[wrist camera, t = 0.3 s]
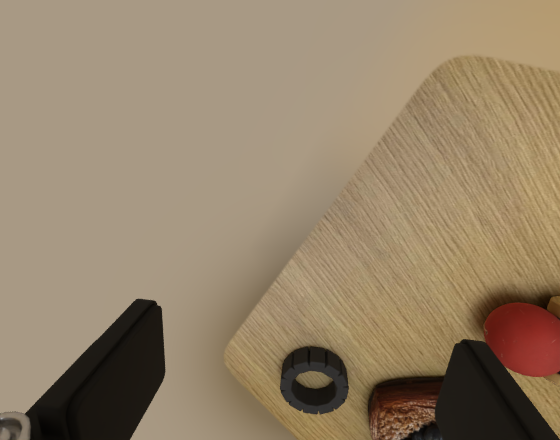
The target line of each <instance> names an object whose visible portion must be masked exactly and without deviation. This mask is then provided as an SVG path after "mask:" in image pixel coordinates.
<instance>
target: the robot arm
mask: <svg viewBox="0 0 560 440" xmlns="http://www.w3.org/2000/svg"><path fill="white" fill-rule="evenodd" d="M164 376H165V356H164V339H163V322H162V308H161V307H160V306H157V303H156V301H153V300H145V299H136V300H135V301H134V302H133V303H132V304H131V305H130V306H129V307H128V308H127V309H126V310H125V311H124V313H123V314H122V315H121V316H120V317H119V318H118V319H117V320H116V321H115V322H114V323H113V324H112V325H111V326H110V327H109V328H108V329H107V330H106V331H105V332H104V333H103V334H102V336H100V338H98V340H96V341H95V342H94V343H93V344H92V345H91V346H90V347H89V348H88V349H87V350H86V351H85V352H84V353H83V354H82V355H81V356H80V357H79V358H78V359H77V360H76V361H75V363H74V364H73V365H72V366H71V367H70V368H69V369H68V370H67V371H66V372H65V373H64V374H63V375H62V376H61V377H60V378H59V379H58V380H57V381H56V382H55V383H54V385H52V386H51V387H50V388H49V389H48V390H47V392H46V393H45V394H44V395H43V396H42V397H41V398H40V399H39V400H38V401H37V402H36V403H35V404H34V405H33V406H32V407H31V408H30V409H29V410H28V411H27V412H26V413H25V414H23V413H20V412H4V413H0V440H130V438H131V437H132V435H133V433H134V431H135V430H136V428H137V426H138V424H139V423H140V421H141V419H142V417H143V415H144V414H145V412H146V410H147V408H148V407H149V405H150V403H151V401H152V399H153V398H154V396H155V394H156V392H157V391H158V389H159V387H160V385H161V383H162V381H163V379H164ZM435 420H436V423H437V425H438V428H439V430H440V433H441V435H442V438H443V440H560V439H559V438H558V437H557V435H556V434H555V433H554V431H553V430H552V429H551V427H550V426H549V425H548V423H547V422H546V421H545V419H544V418H543V417H542V416H541V414H540V413H539V412H538V410H537V409H536V408H535V406H534V405H533V404H532V402H531V401H530V400H529V398H528V397H527V396H526V394H525V393H524V392H523V391H522V389H521V388H520V387H519V385H518V384H517V383H516V381H515V380H514V379H513V377H512V376H511V375H510V373H509V372H508V371H507V369H506V368H505V367H504V366H503V364H502V363H501V362H500V360H499V359H498V358H497V356H496V355H495V354H494V352H493V351H492V350H491V348H490V347H489V346H488V345H487V344H486V343H485V342H483V341H476V340H468V339H463V340H462V341H461V342H460V343H456V344H455V346H454V348H453V352H452V355H451V358H450V361H449V364H448V368H447V371H446V374H445V377H444V380H443V383H442V387H441V390H440V393H439V396H438V399H437V403H436V406H435Z"/></svg>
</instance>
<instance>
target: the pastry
mask: <svg viewBox="0 0 560 440" xmlns="http://www.w3.org/2000/svg"><path fill="white" fill-rule="evenodd" d="M443 380H444V378H413V379H402V380H393V381H388V382H385V383H382V384H379V385H377V386H376V388H375V389H374V391H373V392H372V394H371V396H370V399H369V403H368V413H369V425H370V431H371V437H372V439H373V440H443V438H442V435H441V433H440V430H439V428H438V425H437V423H436V420H435V406H436V403H437V399H438V396H439V393H440V390H441V387H442V383H443Z"/></svg>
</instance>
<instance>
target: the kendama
mask: <svg viewBox="0 0 560 440" xmlns="http://www.w3.org/2000/svg"><path fill="white" fill-rule="evenodd" d="M547 310H548V311H547ZM547 310H545V309H543V308H541V307H539V306H536V305H533V304H528V303H508V304H505V305H502V306H500V307H498V308H496V309H495V310H493V311H492V312H491V313H490V314H489V316H488V317H487V319H486V321H485V322H484V324H483V327H484V337H485V341H486V344H487V345H488V346H489V347H490V348H491V350H492V351H493V352H494V354H495V355H496V356H497V358H498V359H499V360H500V362H501V363H502V364H503V365H504V366H505V367H507V368H509V369H510V370H512V371H514V372H517V373H519V374H522V375H526V376H532V377H544V378H546V379H547V380H549V381H550V382H552V383H554V384H556V385H558V386H560V296H554V297H552V298H551V299H550V302H549V304H548V307H547Z"/></svg>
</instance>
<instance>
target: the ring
mask: <svg viewBox="0 0 560 440" xmlns="http://www.w3.org/2000/svg"><path fill="white" fill-rule="evenodd" d="M307 371H317V372H323V373H324V374H326V375H327V376H329V377H330V378H332V379H333V382H332V383H331V384H330V385H329V386H328V387H324V388H321V389H310V388H306V387H304V386H302V385H301V384H299V383H298V382H297V381H296V379H295V378H296V377H297V376H298V375H299V374H300V373H304V372H307ZM348 389H349V386H348V378H347V371H346V368H345V366H344V364H343V362H342V360H341V359H339V356H337V355H336V354H334V353H332V352H331V351H329V350H326V351H325V349H324V348H318V347H310V351H309V349H308V347H305V348H301V349H298V350H295V351H294V353H293V352H292V353H291V354H290V355H289V356H288V357H287V358H286V359H285V360H284V363H283V367H282V374H281V383H280V390H281V393H282V395H283V397H284V398H285V400H286V402H289V405H291V406H292V407H294V408H296V409H297V410H299V411H301V410H302V409H303V412H304V413H311V414H318V411H319V413H320V414H324V413H328V412H332V411H334V409H338V408H339V407H340V406H341V405H342V404H343V403H344V402H345V399H347V395H348ZM333 408H334V409H333Z"/></svg>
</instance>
